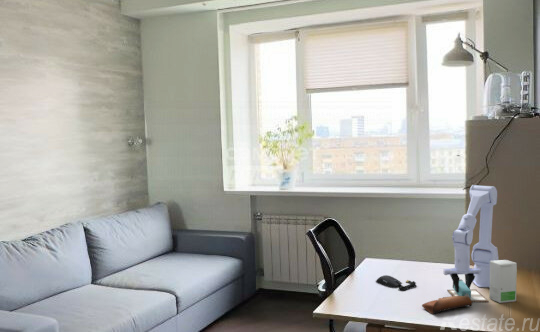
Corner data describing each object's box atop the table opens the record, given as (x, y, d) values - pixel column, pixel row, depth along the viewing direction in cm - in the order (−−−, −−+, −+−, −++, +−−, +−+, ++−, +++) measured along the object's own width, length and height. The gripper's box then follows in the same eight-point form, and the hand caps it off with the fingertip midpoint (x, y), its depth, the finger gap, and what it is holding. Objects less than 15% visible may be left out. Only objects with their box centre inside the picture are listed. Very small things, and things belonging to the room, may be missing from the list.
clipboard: (447, 291, 220) (447, 287, 220) (476, 290, 220) (476, 287, 220) (458, 302, 206) (458, 298, 206) (488, 302, 206) (488, 298, 206)
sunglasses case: (456, 297, 208) (463, 287, 204) (467, 312, 203) (474, 302, 199) (419, 305, 201) (426, 294, 197) (429, 320, 196) (436, 309, 192)
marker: (452, 287, 219) (453, 279, 218) (461, 287, 218) (461, 279, 218) (464, 303, 204) (464, 294, 204) (473, 303, 204) (473, 294, 203)
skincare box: (499, 303, 204) (499, 264, 203) (488, 298, 210) (488, 260, 209) (517, 301, 206) (517, 262, 205) (505, 295, 213) (506, 258, 211)
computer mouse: (392, 278, 242) (392, 269, 242) (421, 287, 228) (421, 278, 227) (372, 282, 236) (372, 274, 236) (401, 292, 221) (401, 283, 221)
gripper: (447, 261, 207) (447, 295, 208) (484, 261, 207) (483, 294, 208) (441, 257, 214) (441, 289, 215) (477, 256, 214) (477, 288, 215)
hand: (462, 291), depth 212 cm, fingers closed on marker, 3 cm apart
